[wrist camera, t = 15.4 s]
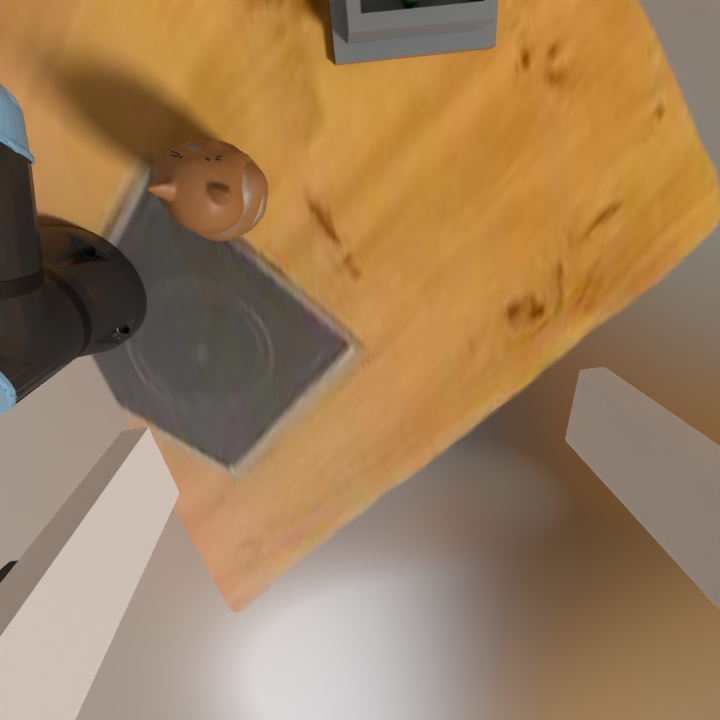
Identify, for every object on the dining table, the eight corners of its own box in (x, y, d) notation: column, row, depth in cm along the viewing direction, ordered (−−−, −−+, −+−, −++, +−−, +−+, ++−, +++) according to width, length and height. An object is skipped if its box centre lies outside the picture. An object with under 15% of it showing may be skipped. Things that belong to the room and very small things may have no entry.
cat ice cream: (280, 152, 39) (249, 135, 23) (282, 228, 42) (255, 259, 26) (196, 144, 38) (102, 121, 22) (205, 222, 41) (129, 251, 26)
